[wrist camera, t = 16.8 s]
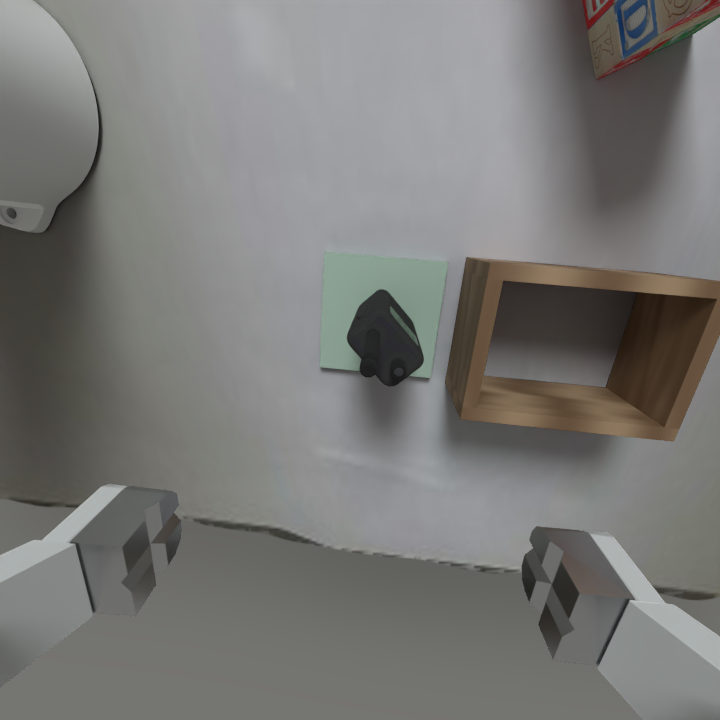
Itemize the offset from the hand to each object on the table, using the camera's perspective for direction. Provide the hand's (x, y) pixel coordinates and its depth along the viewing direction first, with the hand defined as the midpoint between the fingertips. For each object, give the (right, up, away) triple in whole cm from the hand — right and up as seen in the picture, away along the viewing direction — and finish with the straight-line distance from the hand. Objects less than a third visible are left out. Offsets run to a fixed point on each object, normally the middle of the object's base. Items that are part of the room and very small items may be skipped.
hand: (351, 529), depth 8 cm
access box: (+16, +6, +22) cm, 28 cm away
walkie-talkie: (+2, +7, +22) cm, 23 cm away
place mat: (+2, +8, +23) cm, 24 cm away
